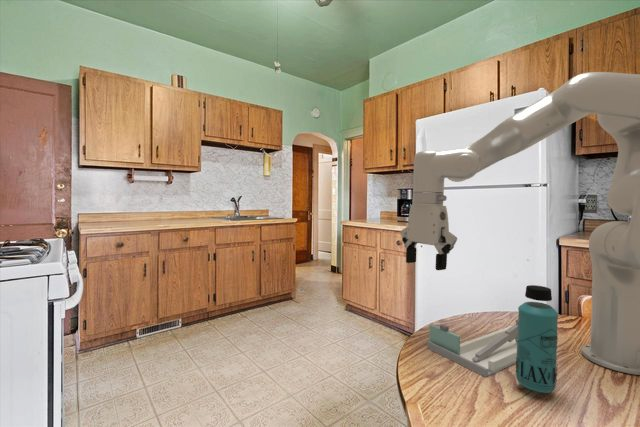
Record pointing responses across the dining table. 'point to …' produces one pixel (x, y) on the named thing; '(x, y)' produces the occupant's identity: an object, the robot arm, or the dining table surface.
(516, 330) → the caliper
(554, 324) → the beverage bottle
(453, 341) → the gate
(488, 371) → the housing
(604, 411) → the dining table surface
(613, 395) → the dining table surface
